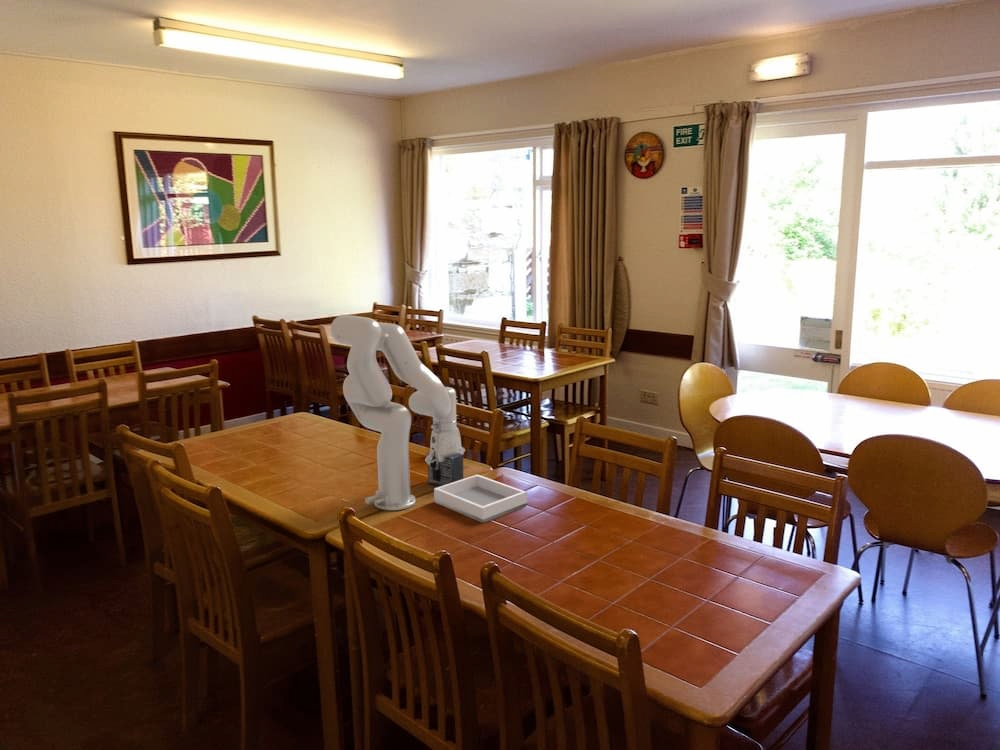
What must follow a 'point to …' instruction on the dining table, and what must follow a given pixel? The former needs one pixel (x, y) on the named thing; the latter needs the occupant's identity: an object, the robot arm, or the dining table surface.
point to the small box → (448, 470)
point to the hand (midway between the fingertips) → (445, 476)
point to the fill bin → (480, 498)
